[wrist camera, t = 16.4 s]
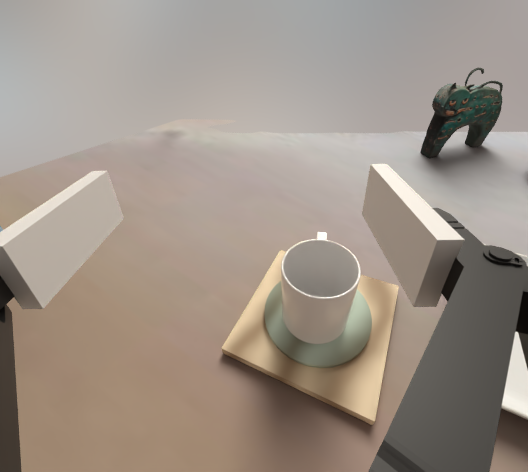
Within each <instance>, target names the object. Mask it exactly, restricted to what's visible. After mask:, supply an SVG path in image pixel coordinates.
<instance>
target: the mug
mask: <svg viewBox="0 0 528 472" xmlns="http://www.w3.org/2000/svg"><path fill="white" fill-rule="evenodd" d="M360 276H361V269H360V265H359V262H358V260H357V259H356V257H355V256H354V255H353V253H352V252H350V251H349V250H348V249H347V248H345V247H344V246H342V245H340V244H338V243H335V242H332V241H329V240H327V233H324V232H318V234H317V239H312V240H306V241H302V242H300V243H297V244H296V245H294V246H292V247H291V248H290V249H289V250H288V251H287V252H286V253H285V255H284V257H283V259H282V263H281V287H282V317H283V321H284V323H285V325H286V327H287V329H288V330H289V331H290V332H291V333H292V334H293V335H294V336H295V337H296V338H298V339H300V340H301V341H304V342H306V343H310V344H325V343H329V342H331V341H333V340H335V339H336V338H338V337H339V336H340V335H341V334H342V333H343V331H344V330H345V328H346V325H347V322H348V318H349V315H350V311H351V308H352V304H353V301H354V297H355V294H356V291H357V287H358V284H359V280H360Z"/></svg>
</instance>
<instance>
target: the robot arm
mask: <svg viewBox="0 0 528 472" xmlns="http://www.w3.org/2000/svg"><path fill="white" fill-rule="evenodd" d="M362 215H363V217H364V219H365V221H366V222H367V224H368V226H369V228H370V229H371V231H372V233H373V235H374V237H375V238H376V240H377V242H378V244H379V246H380V247H381V249H382V251H383V253H384V255H385V256H386V258H387V260H388V262H389V264H390V265H391V267H392V269H393V271H394V273H395V274H396V276H397V278H398V280H399V282H400V283H401V285H402V287H403V289H404V291H405V292H406V294H407V296H408V298H409V300H410V301H411V303H412V305H413V307H436V306H437V304H438V301H439V299H440V296H441V294H443V296H444V297H445V298H446V300H447V301H448V303H447V305H446V307H445V309H444V311H443V314H442V316H441V318H440V320H439V322H438V324H437V326H436V329H435V331H434V333H433V335H432V337H431V339H430V341H429V344H428V346H427V348H426V350H425V352H424V354H423V357H422V359H421V361H420V363H419V365H418V367H417V369H416V372H415V374H414V376H413V378H412V380H411V382H410V384H409V387H408V389H407V391H406V393H405V395H404V397H403V400H402V402H401V404H400V406H399V408H398V410H397V412H396V415H395V417H394V419H393V421H392V423H391V425H390V427H389V430H388V432H387V434H386V436H385V438H384V440H383V442H382V444H381V446H380V448H379V450H378V452H377V455H376V457H375V459H374V461H373V463H372V465H371V467H370V469H369V472H489V471H490V466H491V460H492V455H493V450H494V444H495V439H496V434H497V428H498V423H499V417H500V412H501V407H502V401H503V396H504V390H505V385H506V380H507V374H508V369H509V363H510V358H511V353H512V347H513V342H514V337H515V332H518V334H519V338H520V342H521V346H522V350H523V354H524V358H525V361H526V365H527V369H528V266H527V264H526V262H525V261H524V260H523V259H522V258H521V257H520V256H519V255H517V254H515V253H513V252H512V251H509V250H506V249H504V248H501V247H496V246H491V245H484V244H483V243H481V242H480V241H479V240H478V239H477V238H476V237H475V236H474V235H473V234H472V233H470V232H469V231H468V230H467V229H465V227H464V226H463V225H462V224H461V223H458V221H457V220H456V219H455V218H454V217H453V216H452V215H451V214H449V213H447V212H445V211H443V210H441V209H439V208H431V207H430V206H429V205H428V204H427V203H426V202H425V201H424V200H423V199H422V198H421V197H420V196H419V195H418V194H417V193H416V192H415V191H414V190H413V189H412V188H411V187H410V186H409V185H408V184H407V183H406V182H405V181H404V180H403V179H402V178H401V177H400V176H399V175H398V174H396V173H395V172H394V171H393V170H392V169H391V168H390V167H389V166H388V165H387V164H371V166H370V171H369V177H368V183H367V188H366V194H365V200H364V205H363V211H362ZM123 219H124V217H123V215H122V212H121V209H120V206H119V203H118V200H117V197H116V194H115V191H114V189H113V186H112V183H111V180H110V177H109V174H108V171H92V172H90V173H89V174H87V175H86V176H84V177H83V178H81V179H80V180H78V181H77V182H75V183H74V184H72V185H71V186H69V187H68V188H66V189H65V190H63V191H62V192H60V193H59V194H57V195H56V196H54V197H53V198H51V199H50V200H48V201H47V202H45V203H44V204H42V205H41V206H39V207H38V208H36V209H35V210H33V211H32V212H30V213H28V214H27V215H25V216H24V217H22V218H21V219H19V220H18V221H16V222H15V223H13V224H12V225H10V226H9V227H7V228H6V229H4V230H3V229H2V228H1V226H0V472H21V458H20V441H19V425H18V408H17V392H16V375H15V359H14V342H13V326H12V312H11V310H10V309H9V307H8V306H7V305H6V304H7V303H8V302H9V301H10V300H11V299H12V298H13V297H15V299H16V300H17V302H18V303H19V304H20V306H21V307H22V309H43V308H44V307H45V306H46V305H47V304H48V303H49V302H50V301H51V299H52V298H53V297H54V296H55V295H56V294H57V293H58V292H59V291H60V289H61V288H62V287H63V286H64V285H65V284H66V283H67V282H68V280H69V279H70V278H71V277H72V276H73V275H74V274H75V273H76V271H77V270H78V269H79V268H80V267H81V266H82V265H83V264H84V262H85V261H86V260H87V259H88V258H89V257H90V256H91V255H92V254H93V252H94V251H95V250H96V249H97V248H98V247H99V246H100V245H101V243H102V242H103V241H104V240H105V239H106V238H107V237H108V236H109V234H110V233H111V232H112V231H113V230H114V229H115V228H116V227H117V226H118V224H119V223H120V222H121V221H122V220H123Z"/></svg>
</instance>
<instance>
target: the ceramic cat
mask: <svg viewBox="0 0 528 472" xmlns="http://www.w3.org/2000/svg"><path fill="white" fill-rule="evenodd" d="M476 70H481V72H482V74H483V73H484V69H482V68H476V69H474V70H472V71H471V72H470V73H469V75H468V77H467V79H466V82H465V86H459V85H456V83H454V84H447V85H445V86H444V87H442V88H441V89H440V90H439V91H438V92H437V94H436V96H435V98H434V101H433V104H432V105H433V109H434V111H435V113H434V116H433V118H432V120H431V123H430V125H429V127H428V130H427V134H426V137H425V140H424V142H423V145H422V149H421V153H422V154H423V155H425V156H427V157H428V158H431V157H436V156H438V154H439V153H440V151H441V149H442V147H443V146H444V144H445V143H446V141H447V140H448V139H449V138H450V137H451V135H452V134H453V133H454V132H455V131H456V130H457V129H459V128H461V127H463V126H466V125H469V131H468V135H467V138H466V141H465V144H468V145H469V146H471V147H478V146H480V145H481V144H482V143H483V141H484V140H485V138H486V136H487V135H488V133H489V132H490V131H491V129H492V128H493V126H494V125H495V123H496V121H497V119H498V117H499V114H500V111H501V105H502V96H501V91H502V86H503V85H502V83H500V82H498V81H489V82H486V83H484V84H482V85H480V86H474V85H468V86H466V84H467V81H468V78H469V76H470V75H471V74H472V73H473V72H474V71H476ZM488 83H496V84H499V85H500V92H498V90H496V89H493V88H490V87H487V86H484V85H486V84H488Z"/></svg>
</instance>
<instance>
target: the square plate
mask: <svg viewBox="0 0 528 472" xmlns="http://www.w3.org/2000/svg"><path fill="white" fill-rule="evenodd" d="M484 245H486V244H484ZM513 253H515V252H513ZM515 254H517V255H519V256H520V257H521V258H522V259H523V260H524V261H525V262H526V264H527V266H528V256H525V255H522V254H518V253H515ZM501 408H502V409H504V410H507V411H509V412H511V413H514V414H516V415H518V416H520V417H523V418H525V419H527V420H528V369H527V365H526V361H525V358H524V354H523V350H522V346H521V342H520V338H519V334H518V332H515V337H514V342H513V347H512V353H511V358H510V363H509V369H508V374H507V380H506V385H505V390H504V396H503V401H502V407H501Z"/></svg>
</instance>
